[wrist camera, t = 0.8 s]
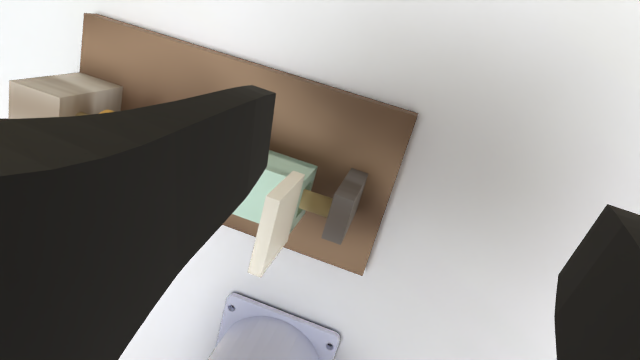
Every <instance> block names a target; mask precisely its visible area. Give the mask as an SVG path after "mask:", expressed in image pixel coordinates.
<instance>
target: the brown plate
mask: <svg viewBox="0 0 640 360" xmlns="http://www.w3.org/2000/svg"><path fill="white" fill-rule="evenodd" d="M247 85H254V86H257V87H260V88H263V89H266V90H269V91H272V92H275V93H276V99H275V107H274V115H273V123H272V131H271V139H270V147H269V150H271V151H274V152H277V153H280V154H283V155H286V156H289V157H292V158H295V159H298V160H301V161H304V162H307V163H310V164H313V165H316V166H318V168H317V171H316V175H315V178H314V182H313V186H312V189H311V191H309V190H306V189H304V190H303V194H302V197H301V201H300V205H299V208H300V209H303V210H306V211H305V214H304V215H303V217H302V218H301V219H300V221H299V222H298V223H297V225H296V226H295V227H294V229H293V230H292V231H291V233H290V234H289V237H288V241H287V243H286V244H285V245H284V247H285V248H287V249H290V250H293V251H296V252H298V253H301V254H304V255H307V256H309V257H312V258H315V259H317V260H320V261H323V262H326V263H328V264H331V265H334V266H337V267H339V268H342V269H345V270H347V271H350V272H353V273H356V274H358V275H361V276H363V273H364V270H365V267H366V264H367V261H368V258H369V255H370V252H371V249H372V246H373V244H374V241H375V238H376V235H377V232H378V229H379V226H380V223H381V220H382V217H383V215H384V212H385V209H386V206H387V203H388V200H389V197H390V194H391V191H392V188H393V185H394V183H395V180H396V177H397V174H398V171H399V168H400V165H401V162H402V159H403V156H404V154H405V151H406V148H407V145H408V142H409V139H410V136H411V133H412V130H413V127H414V124H415V122H416V119H417V116H418V113H415V112H412V111H409V110H405V109H402V108H399V107H396V106H393V105H389V104H386V103H383V102H380V101H376V100H373V99H370V98H367V97H363V96H360V95H357V94H354V93H350V92H347V91H344V90H341V89H338V88H334V87H331V86H328V85H325V84H321V83H318V82H315V81H312V80H308V79H305V78H302V77H299V76H295V75H292V74H289V73H286V72H283V71H279V70H276V69H273V68H270V67H266V66H263V65H260V64H257V63H253V62H250V61H247V60H244V59H240V58H237V57H234V56H231V55H228V54H224V53H221V52H218V51H215V50H211V49H208V48H205V47H202V46H198V45H195V44H192V43H189V42H186V41H182V40H179V39H176V38H173V37H169V36H166V35H163V34H160V33H156V32H153V31H150V30H147V29H143V28H140V27H137V26H134V25H131V24H127V23H124V22H121V21H118V20H114V19H111V18H108V17H105V16H101V15H98V14H90V13H84V21H83V35H82V48H81V62H80V72H79V73H70V74H62V75H53V76H44V77H36V78H27V79H19V80H10V81H9V119H22V118H46V117H69V116H81V115H91V114H100V113H109V112H116V111H123V110H130V109H136V108H141V107H146V106H151V105H156V104H162V103H167V102H172V101H177V100H181V99H186V98H190V97H194V96H199V95H203V94H207V93H212V92H216V91H220V90H225V89H230V88H234V87H240V86H247ZM222 225H225V226H227V227H230V228H233V229H236V230H238V231H241V232H244V233H246V234H249V235H252V236H255V237H256V235H257V231H258V227H259V223H256V222H253V221H250V220H248V219H245V218H242V217H239V216H237V215H234V214H231V215H230V217H229V218H228V219H227V220H226V221H225V222H224V223H223V224H222Z"/></svg>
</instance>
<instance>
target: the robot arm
mask: <svg viewBox="0 0 640 360" xmlns="http://www.w3.org/2000/svg"><path fill="white" fill-rule="evenodd" d="M275 99H276V93H275V92H272V91H269V90H266V89H263V88H260V87H257V86H254V85H247V86H240V87H234V88H230V89H225V90H220V91H216V92H212V93H207V94H203V95H199V96H194V97H190V98H186V99H181V100H177V101H172V102H167V103H162V104H156V105H151V106H146V107H141V108H136V109H130V110H123V111H116V112H109V113H100V114H91V115H81V116H69V117H46V118H22V119H0V360H118V359H119V358H120V356H121V355H122V353H123V351H124V350H125V348H126V347H127V345H128V344H129V342H130V341H131V339H132V338H133V337H134V335H135V334H136V332H137V331H138V329H139V328H140V326H141V325H142V323H143V322H144V321H145V319H146V318H147V316H148V315H149V313H150V312H151V310H152V309H153V308H154V306H155V305H156V303H157V302H158V301H159V299H160V298H161V297H162V295H163V294H164V292H165V291H166V290H167V288H168V287H169V286H170V284H171V283H172V281H173V280H174V279H175V277H176V276H177V275H178V273H179V272H180V271H181V270H182V269H183V267H184V266H185V265H186V264H187V263H188V261H189V260H190V259H191V258H192V257H193V256H194V255H195V254H196V253H197V251H198V250H199V249H200V248H201V247H202V246H203V245H204V244H205V243H206V242H207V241H208V239H209V238H210V237H211V236H212V235H213V234H214V233H215V232H216V231H217V230H218V229H219V227H220V226H221V225H222V224H223V223H224V222H225V221H226V220H227V219H228V218H229V217H230V215H231V214H232V213H233V212H234V211H235V210H236V209H237V208H238V206H239V205H240V204H241V203H242V202H243V201H244V200H245V199H246V197H247V196H248V195H249V193H250V192H251V190H252V189H253V187H254V186H255V184H256V183H257V181H258V180H259V178H260V177H261V175H262V174H263V172H264V171H265V169H266V167H267V163H268V155H269V147H270V139H271V131H272V123H273V115H274V107H275ZM231 305H233V306H234V307H235V308H232V307H231ZM555 335H556V351H557V360H640V215H638V214H635V213H632V212H629V211H626V210H623V209H620V208H617V207H614V206H611V205H608V204H607V206H606V207H605V208H604V210H603V211H602V213H601V214H600V216H599V217H598V219H597V220H596V221H595V223H594V224H593V226H592V227H591V229H590V230H589V232H588V233H587V234H586V236H585V237H584V239H583V240H582V242H581V243H580V245H579V246H578V247H577V249H576V250H575V252H574V253H573V255H572V256H571V257H570V259H569V260H568V262H567V263H566V265H565V266H564V268H563V269H562V270H561V272H560V273H559V275H558V284H557V293H556V304H555ZM339 342H340V336H339V334H338V333H337V332H335V331H332V330H330V329H327V328H325V327H322V326H319V325H317V324H314V323H312V322H309V321H306V320H304V319H301V318H299V317H296V316H294V315H291V314H288V313H286V312H283V311H281V310H278V309H275V308H273V307H270V306H268V305H265V304H263V303H260V302H257V301H255V300H252V299H250V298H247V297H244V296H242V295H239V294H237V293H231V294H230V295H229V296H228V297H227V299H226V304H225V308H224V312H223V317H222V321H221V326H220V330H219V335H218V339H217V343H216V348H215V349H214V351H213V352H212V354H211V355H210V356H209V358H208V359H207V360H334V357H335V354H336V351H337V348H338V345H339ZM328 343H330V344H332V345H333V346H329V345H328Z"/></svg>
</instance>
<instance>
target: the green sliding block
mask: <svg viewBox="0 0 640 360" xmlns="http://www.w3.org/2000/svg"><path fill="white" fill-rule="evenodd" d="M317 168H318V166H316V165H313V164H310V163H307V162H304V161H301V160H298V159H295V158H292V157H289V156H286V155H283V154H280V153H277V152H274V151H271V150H269V155H268V163H267V167H266V169H265V171H264V172H263V174H262V175H261V177H260V178H259V180H258V181H257V183H256V184H255V186H254V187H253V189H252V190H251V192H250V193H249V195H248V196H247V197H246V199H245V200H244V201H243V202H242V203H241V204H240V205H239V206H238V208H237V209H236V210H235V211H234V212H233V213H232V214H234V215H237V216H239V217H242V218H245V219H248V220H250V221H253V222H256V223H259V227H258V231H257V235H256V240H255V244H254V248H253V252H252V256H251V261H250V265H249V269H248V273H250V274H252V275H255V276H258V277H260V278H261V277H262V275H263V274H264V273H265V271H266V270H267V269H268V267H269V266H270V264H271V263H272V262H273V260H274V259H275V258H276V256H277V255H278V254H279V252H280V251H281V249H282V248H283V247H284V245H285V244H286V243H287V241H288V237H289V234H290V233H291V231H292V230H293V229H294V227H295V226H296V225H297V223H298V222H299V221H300V219H301V218H302V217H303V215H304V214H305V211H306V210H303V209H300V208H299V205H300V201H301V197H302V194H303V190H304V189H306V190H309V191H311V189H312V186H313V182H314V178H315V175H316V171H317Z"/></svg>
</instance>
